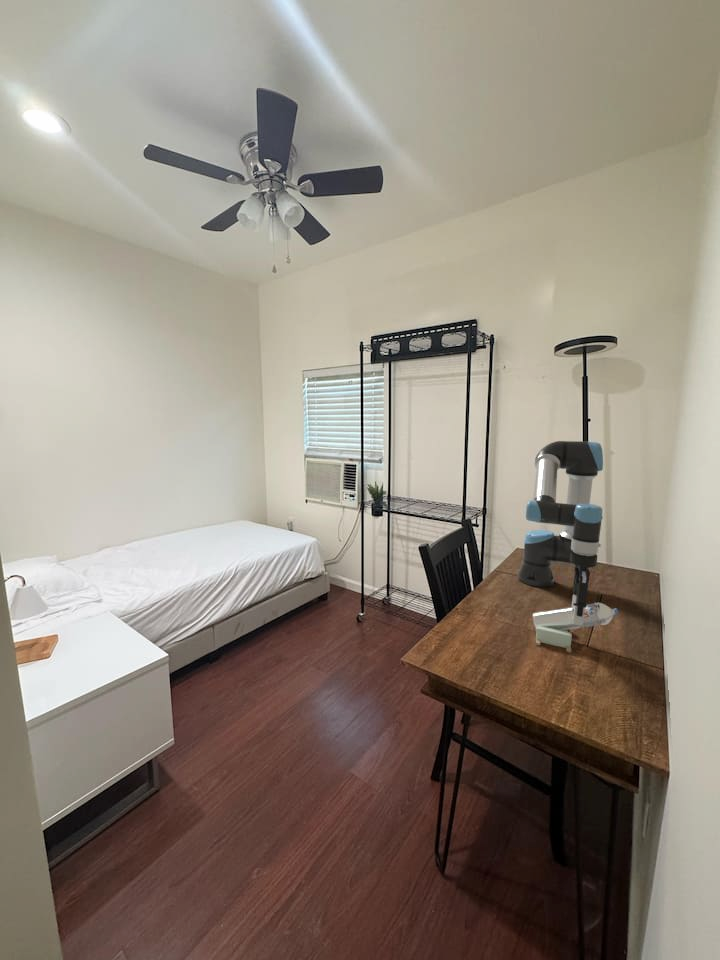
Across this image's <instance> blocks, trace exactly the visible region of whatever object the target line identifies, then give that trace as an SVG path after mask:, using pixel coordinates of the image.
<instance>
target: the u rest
mask: <svg viewBox="0 0 720 960" xmlns="http://www.w3.org/2000/svg"><path fill="white" fill-rule="evenodd" d="M536 612H539V611H536ZM572 637H573V635H572V632H569V629H568V630H561V631H560V630H555V629H551V628H546V627H541V626H537V630H536V635H535V645H537V646H541V643H543V644H547V645H551V646H556V647H561V648H565V650H566V653H572V647H571V645H572Z"/></svg>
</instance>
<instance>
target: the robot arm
mask: <svg viewBox="0 0 720 960" xmlns="http://www.w3.org/2000/svg"><path fill="white" fill-rule="evenodd" d="M603 466H604V453H603V447H602V444H600V443H599V442H595V441H594V442H592V441H580V440H579V441H575V440H574V441H569V440H566V441H565V440H557V441H554V442H551V443H549V444H548V443H547V445H545V446H543V447H542V448H541V449H540V450H539V451H538V453H537V454H536V456H535V459H534V468H535V469H536V473H535V480H534V481H535V482H534V491H533V500H528V501H527V503H526V508H525V509H526V510H525V519H526V520H527V521H528V522H535V523H539V524H540V523H541V524H549V525H560V526H563V529H562V530H560V531H559V535H555V533H554V532H553V531H551V530H547V529H535V530H529V531H527V532H526V533H525V536H524V537H525V538H524V540H523V543H524V544H523V545H524V547H523V557H522V563H521V565H520V567H519V570H518V571H517V579H518V580H519V581H520V582H521V583H524V584H526V585H529V586H532V587H538V588H539V587H541V588H545V587H546V588H547V587H551V586H553V585H554V584H555V583H554V582H555V579H554V578H555V577H554V575H553V574H554V573H553V571H552V562H553V563H562V564H568V565H573V566H574V574H573V576H574V577H573V578H574V579H573V584H572V585H573V586H572V594H573V595H572V599H571V600H572V602H571V607H572V606H573V607H574V606H575V610H574V619H573V624H576V625H581V626H583V621H584V612H585V608H586V607H587V605H588V604H587V602H588V592H589V591H588V590H589V583H590V574H591V572H590V571H589V568H595V567H596V566H597V563H598V562H597V561H598V555H597V554H598V552H599V548H601V546H602V544H601V543H600V536H601V534H600V533H601V530H602V529H601V528H602V520H603V507H601V506H599V505H597V504H593V503H591V497H592V496H591V495H592V488H593V487H592V485H593V480H594V478H596V477H597V476H598V473H599V472H601V471H603V469H604V467H603ZM559 469H562V470H564V469H565V474H566V475H567V476H568V485H567V486H568V487H567V495H566V497H567V498H566V503H561V502H557V484H558V482H557V481H558V480H557V479H558V470H559Z"/></svg>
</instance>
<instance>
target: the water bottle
mask: <svg viewBox="0 0 720 960" xmlns="http://www.w3.org/2000/svg"><path fill="white" fill-rule="evenodd" d="M586 605H587V607H586V608H585V612H584V621H583V626H581V625H576V624H573V619H574V610H575V606H574V607H573V606H572V605H571V606H567V607H565V606H564V607H561V608H560V607H559V608H554V609H547V610H540V611H538V612H537V611H535V612H533V613H532V614H531V615H532V621H533V625H534V627H535V631H537V626H541V627H546V628H551V629H555V630H560V631H561V630H568V631H569V630H576V629H580V628H587V627H595V626H604V625H605V626H606V625H608V624H609V623H610V622H611V621H612V619H613V617H614V615H616V616H617V615H619V610H618V608H611V607H610V606H608V605H606V604H604V603H601V602H594V603H589V604H586Z"/></svg>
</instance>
